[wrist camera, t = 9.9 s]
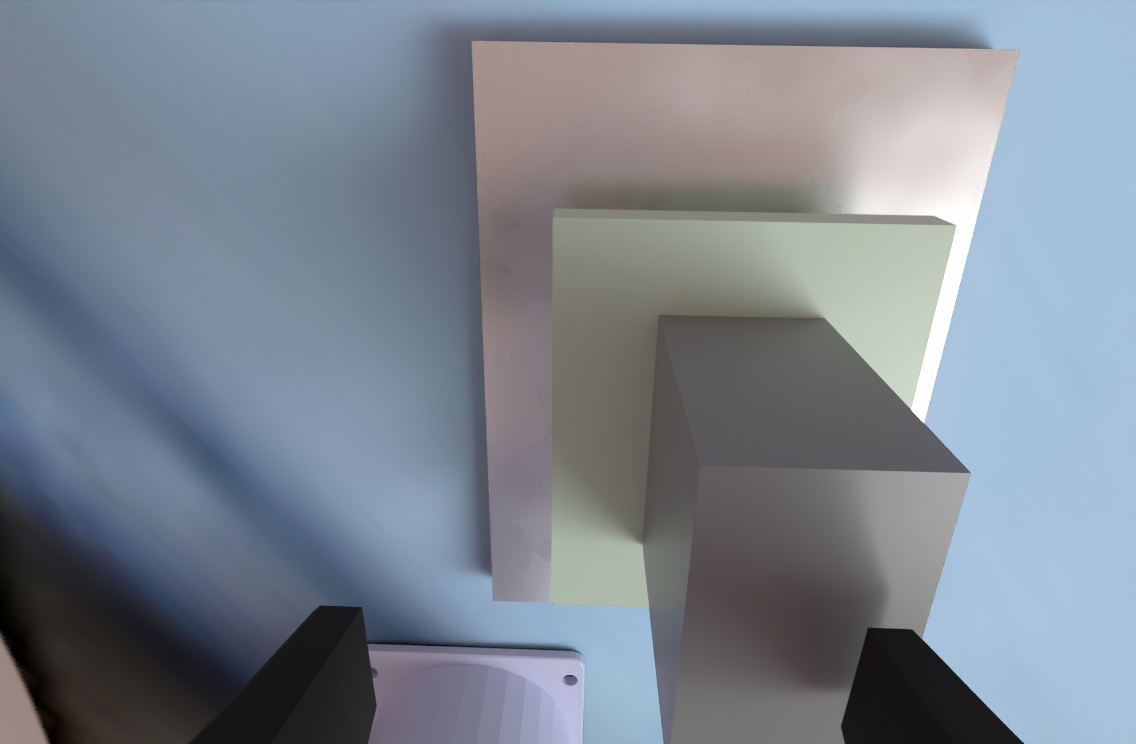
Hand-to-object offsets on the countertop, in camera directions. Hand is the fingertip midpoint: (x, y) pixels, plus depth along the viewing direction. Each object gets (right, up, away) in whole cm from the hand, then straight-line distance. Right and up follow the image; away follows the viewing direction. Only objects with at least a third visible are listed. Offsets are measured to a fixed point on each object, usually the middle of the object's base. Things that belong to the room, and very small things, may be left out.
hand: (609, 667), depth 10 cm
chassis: (+3, +5, +9) cm, 11 cm away
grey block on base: (+3, +3, +7) cm, 8 cm away
